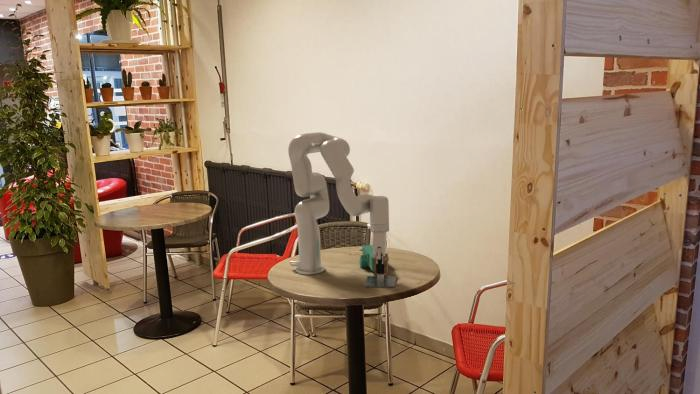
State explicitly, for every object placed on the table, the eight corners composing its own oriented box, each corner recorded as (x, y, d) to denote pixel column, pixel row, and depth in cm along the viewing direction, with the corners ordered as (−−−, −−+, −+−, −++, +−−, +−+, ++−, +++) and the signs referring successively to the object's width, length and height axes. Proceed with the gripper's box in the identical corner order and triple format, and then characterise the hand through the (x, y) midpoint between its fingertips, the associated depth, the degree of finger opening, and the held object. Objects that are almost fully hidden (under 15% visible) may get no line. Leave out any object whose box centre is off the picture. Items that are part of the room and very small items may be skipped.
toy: (378, 236, 249) (392, 252, 220) (378, 255, 251) (393, 274, 222) (353, 237, 248) (364, 254, 218) (354, 257, 249) (365, 276, 220)
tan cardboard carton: (374, 274, 209) (373, 258, 208) (375, 270, 214) (374, 254, 213) (387, 274, 209) (386, 258, 207) (387, 270, 214) (387, 254, 213)
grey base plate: (364, 287, 207) (364, 270, 206) (367, 277, 219) (367, 261, 218) (394, 287, 206) (394, 270, 204) (396, 277, 217) (395, 261, 216)
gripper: (372, 222, 217) (373, 264, 220) (368, 232, 200) (369, 277, 204) (390, 222, 216) (391, 264, 219) (387, 232, 199) (388, 278, 203)
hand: (380, 270), depth 211 cm, fingers closed on tan cardboard carton, 5 cm apart
